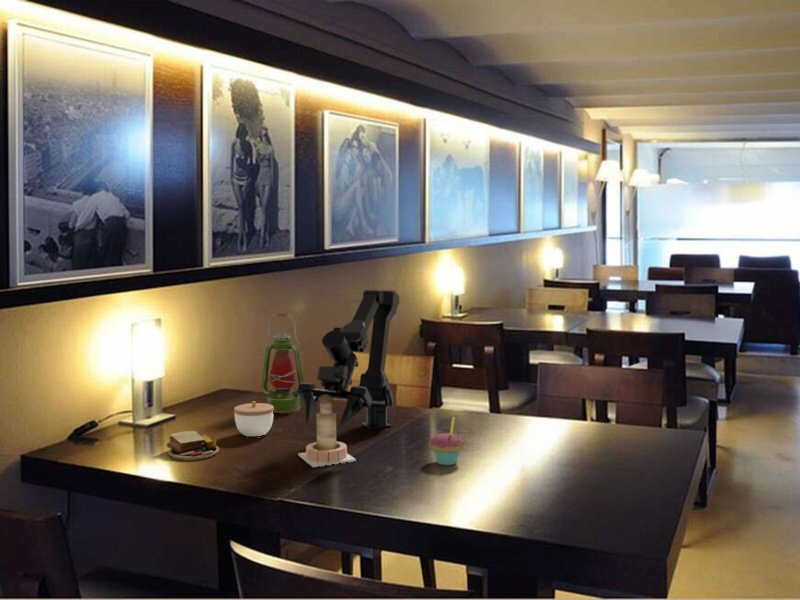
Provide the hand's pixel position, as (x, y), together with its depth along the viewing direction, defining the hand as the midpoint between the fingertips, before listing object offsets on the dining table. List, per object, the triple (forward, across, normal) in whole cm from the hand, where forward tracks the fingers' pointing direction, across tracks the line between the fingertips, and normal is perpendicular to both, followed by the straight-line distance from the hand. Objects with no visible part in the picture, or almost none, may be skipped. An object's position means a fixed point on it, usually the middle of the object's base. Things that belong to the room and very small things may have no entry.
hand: (324, 423), depth 205 cm
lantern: (-25, -35, +38) cm, 57 cm away
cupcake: (+1, +29, +12) cm, 31 cm away
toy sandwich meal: (+11, -34, +2) cm, 36 cm away
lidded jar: (-4, -28, +17) cm, 33 cm away
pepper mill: (+5, 0, +7) cm, 8 cm away
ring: (+6, 0, +7) cm, 9 cm away
